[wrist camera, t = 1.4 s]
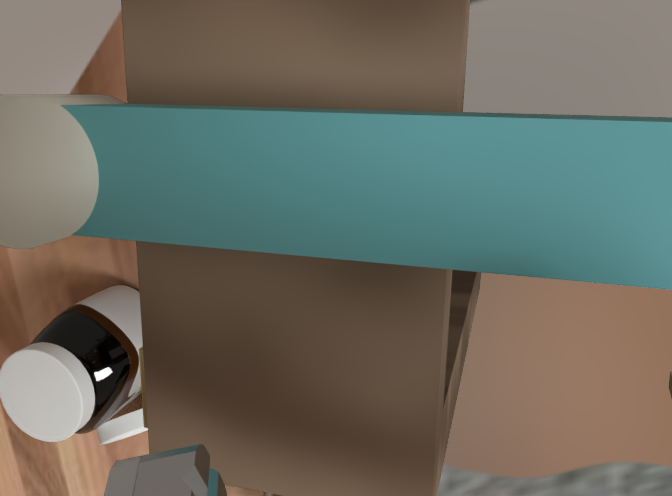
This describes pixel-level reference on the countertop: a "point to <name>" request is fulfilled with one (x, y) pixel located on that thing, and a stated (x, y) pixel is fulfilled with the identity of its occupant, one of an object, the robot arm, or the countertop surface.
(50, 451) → the countertop surface
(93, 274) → the countertop surface
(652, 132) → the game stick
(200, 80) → the walnut shelf
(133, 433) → the spread jar
